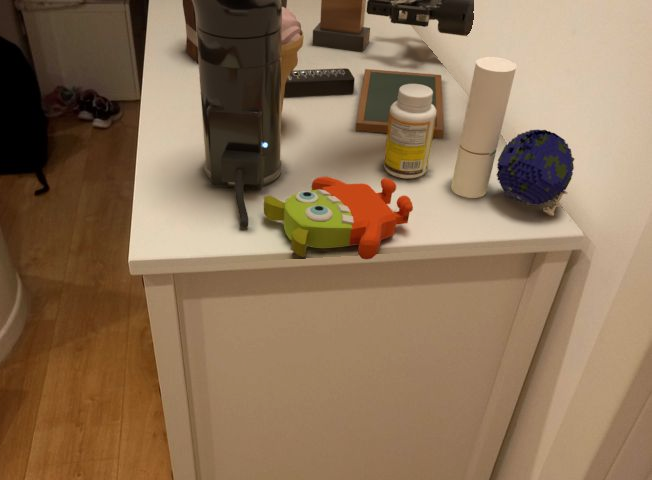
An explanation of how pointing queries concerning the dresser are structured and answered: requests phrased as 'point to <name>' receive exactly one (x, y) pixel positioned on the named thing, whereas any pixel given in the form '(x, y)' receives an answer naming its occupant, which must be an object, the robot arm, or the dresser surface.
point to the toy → (339, 215)
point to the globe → (536, 168)
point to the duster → (342, 25)
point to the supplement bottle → (410, 132)
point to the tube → (482, 125)
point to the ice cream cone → (289, 46)
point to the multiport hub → (319, 82)
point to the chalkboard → (393, 98)
